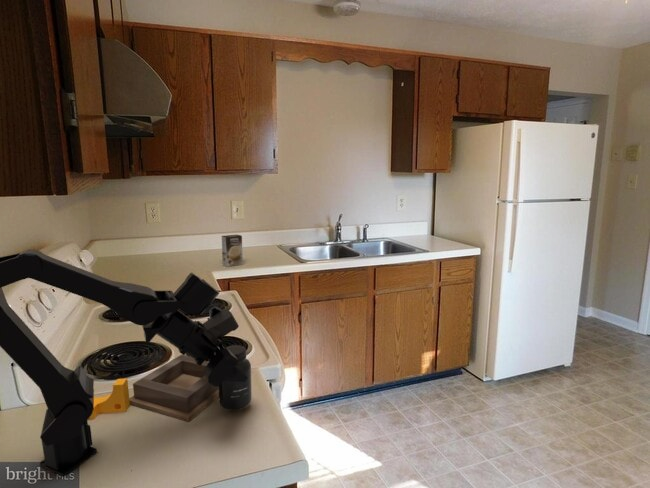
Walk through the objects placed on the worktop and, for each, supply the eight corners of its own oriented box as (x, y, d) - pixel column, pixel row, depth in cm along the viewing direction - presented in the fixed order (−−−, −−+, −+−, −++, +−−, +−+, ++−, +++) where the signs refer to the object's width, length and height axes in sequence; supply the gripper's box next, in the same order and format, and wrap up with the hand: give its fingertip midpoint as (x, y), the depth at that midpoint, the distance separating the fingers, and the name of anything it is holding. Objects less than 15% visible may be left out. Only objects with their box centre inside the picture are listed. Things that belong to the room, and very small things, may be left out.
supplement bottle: (240, 414, 81) (238, 359, 79) (212, 407, 83) (209, 354, 81) (258, 397, 87) (256, 345, 85) (231, 390, 89) (229, 340, 87)
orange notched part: (61, 421, 82) (57, 393, 81) (72, 409, 86) (68, 382, 85) (122, 417, 83) (119, 389, 82) (130, 405, 87) (127, 378, 86)
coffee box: (227, 267, 210) (226, 237, 207) (222, 265, 215) (220, 235, 212) (243, 264, 215) (242, 235, 212) (238, 262, 220) (236, 234, 217)
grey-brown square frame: (188, 421, 81) (187, 401, 80) (127, 403, 88) (125, 385, 87) (237, 381, 97) (236, 364, 96) (182, 368, 103) (181, 352, 102)
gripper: (224, 315, 71) (282, 359, 78) (201, 288, 87) (251, 327, 94) (181, 366, 69) (245, 406, 76) (165, 329, 85) (219, 365, 92)
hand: (241, 372), depth 85 cm, fingers closed on supplement bottle, 7 cm apart
